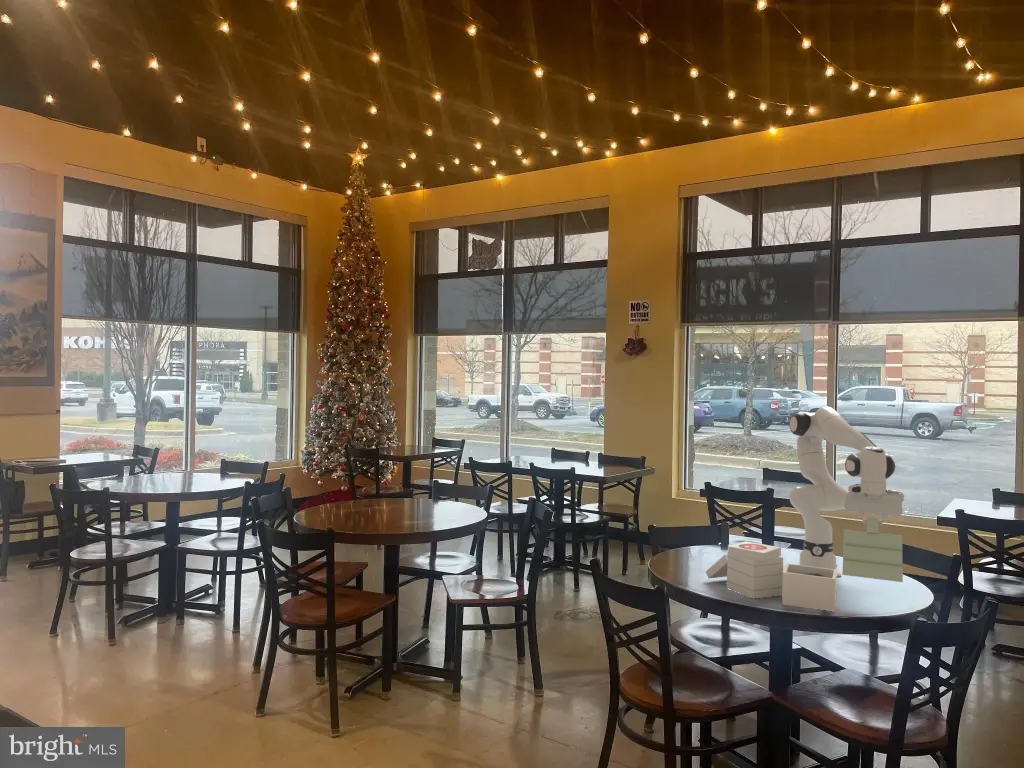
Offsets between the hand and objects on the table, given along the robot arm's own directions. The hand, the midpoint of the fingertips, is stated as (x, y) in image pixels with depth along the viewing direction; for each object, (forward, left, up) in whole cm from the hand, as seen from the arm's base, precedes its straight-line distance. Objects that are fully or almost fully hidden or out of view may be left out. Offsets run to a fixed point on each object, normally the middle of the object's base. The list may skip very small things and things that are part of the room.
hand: (872, 524), depth 274 cm
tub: (+17, -21, -29) cm, 40 cm away
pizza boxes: (+10, -46, -30) cm, 56 cm away
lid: (+4, 0, -9) cm, 10 cm away
